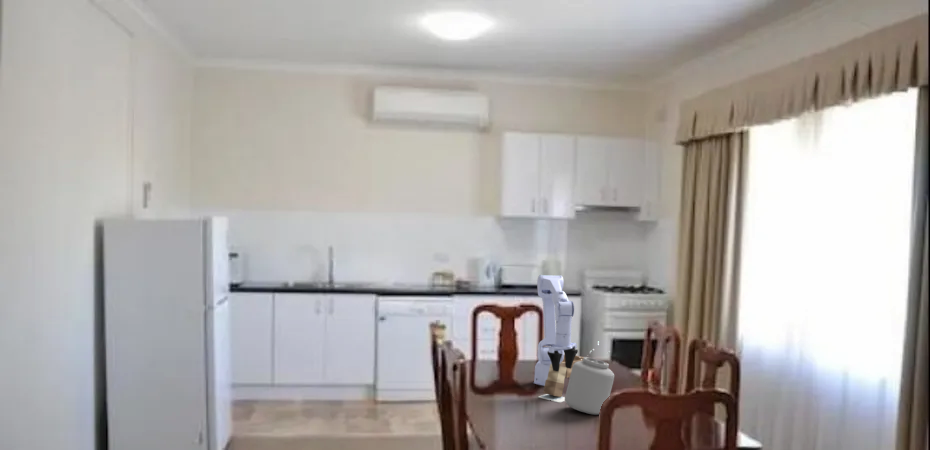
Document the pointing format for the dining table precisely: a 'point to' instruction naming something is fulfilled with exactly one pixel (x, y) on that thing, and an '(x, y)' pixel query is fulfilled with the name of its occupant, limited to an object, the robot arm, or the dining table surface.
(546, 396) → the white flat plate
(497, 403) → the dining table surface
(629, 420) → the dining table surface
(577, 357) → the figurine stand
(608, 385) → the jar
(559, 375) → the maple block
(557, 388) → the walnut block
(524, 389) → the dining table surface
